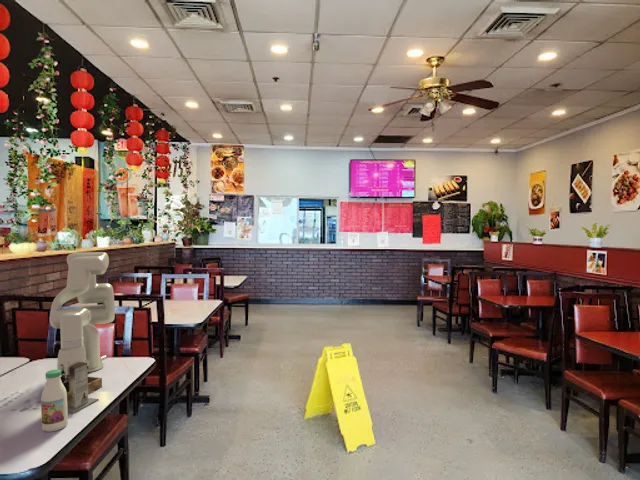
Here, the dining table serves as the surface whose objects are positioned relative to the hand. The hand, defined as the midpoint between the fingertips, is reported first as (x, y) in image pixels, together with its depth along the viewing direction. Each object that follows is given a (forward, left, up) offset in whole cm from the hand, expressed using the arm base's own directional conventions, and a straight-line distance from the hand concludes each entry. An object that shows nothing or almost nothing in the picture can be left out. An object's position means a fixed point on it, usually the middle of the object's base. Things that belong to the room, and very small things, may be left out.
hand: (73, 387), depth 162 cm
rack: (-13, -10, -7) cm, 18 cm away
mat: (0, 0, -7) cm, 7 cm away
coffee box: (0, 0, -7) cm, 7 cm away
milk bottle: (+16, +8, -7) cm, 19 cm away
